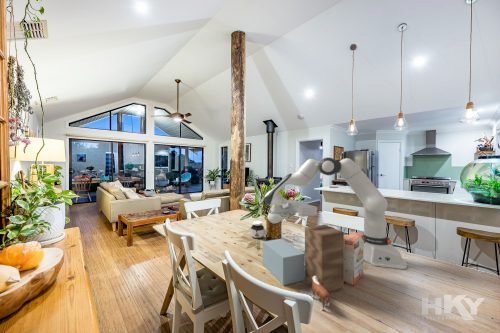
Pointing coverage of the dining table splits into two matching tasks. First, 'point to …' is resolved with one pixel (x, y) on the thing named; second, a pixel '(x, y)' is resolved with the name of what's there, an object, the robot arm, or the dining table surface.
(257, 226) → the spread jar
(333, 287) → the stand
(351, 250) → the cracker box
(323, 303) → the bull figurine
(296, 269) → the gray rectangular box
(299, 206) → the light gray box
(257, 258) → the dining table surface
